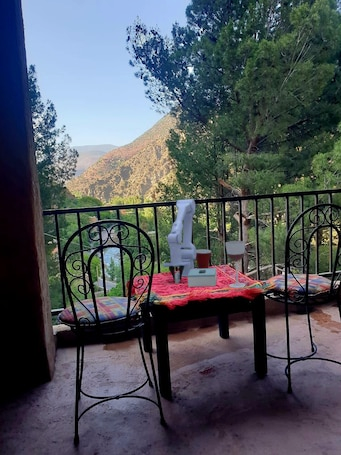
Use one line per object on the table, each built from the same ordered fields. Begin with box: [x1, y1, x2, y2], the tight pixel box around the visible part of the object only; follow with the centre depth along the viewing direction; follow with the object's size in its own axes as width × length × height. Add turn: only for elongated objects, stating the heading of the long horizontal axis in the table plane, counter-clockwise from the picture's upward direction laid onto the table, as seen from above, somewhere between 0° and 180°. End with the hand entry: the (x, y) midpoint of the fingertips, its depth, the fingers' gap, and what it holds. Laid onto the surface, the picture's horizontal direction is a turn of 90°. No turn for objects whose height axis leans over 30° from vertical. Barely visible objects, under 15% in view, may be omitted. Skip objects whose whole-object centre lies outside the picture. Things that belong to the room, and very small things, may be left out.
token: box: [174, 271, 181, 285], centre depth 196 cm, size 5×2×5 cm, turn 170°
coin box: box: [186, 267, 218, 288], centre depth 191 cm, size 14×14×6 cm
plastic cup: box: [195, 248, 212, 269], centre depth 220 cm, size 11×11×12 cm
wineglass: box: [225, 240, 246, 289], centre depth 180 cm, size 9×10×22 cm
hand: (177, 279), depth 196 cm, fingers open, 3 cm apart
